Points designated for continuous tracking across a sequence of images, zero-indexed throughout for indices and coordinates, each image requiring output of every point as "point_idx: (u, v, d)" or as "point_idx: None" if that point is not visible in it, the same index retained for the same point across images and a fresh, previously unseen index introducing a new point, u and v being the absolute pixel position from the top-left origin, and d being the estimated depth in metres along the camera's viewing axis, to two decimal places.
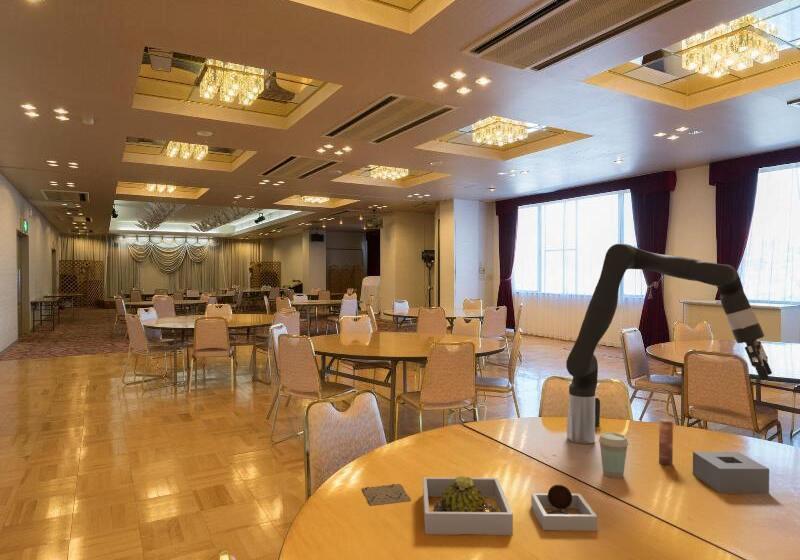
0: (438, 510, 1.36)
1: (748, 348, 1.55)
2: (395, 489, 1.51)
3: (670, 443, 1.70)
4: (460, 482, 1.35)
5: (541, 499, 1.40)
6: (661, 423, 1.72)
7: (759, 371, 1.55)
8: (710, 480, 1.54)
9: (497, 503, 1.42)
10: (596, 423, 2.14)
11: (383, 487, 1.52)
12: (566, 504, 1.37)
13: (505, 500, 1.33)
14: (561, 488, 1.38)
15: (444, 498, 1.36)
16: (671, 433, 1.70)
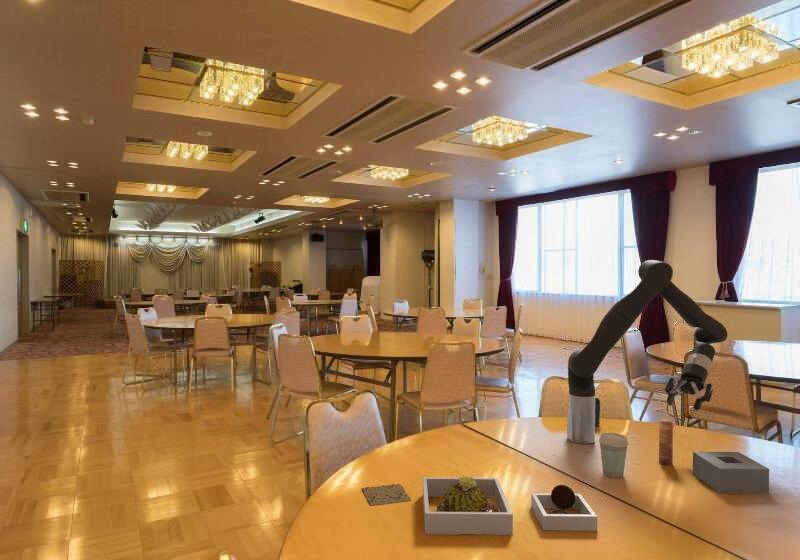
0: (441, 511, 1.36)
1: (711, 386, 1.78)
2: (395, 489, 1.51)
3: (670, 443, 1.70)
4: (463, 482, 1.35)
5: (541, 499, 1.40)
6: (661, 423, 1.72)
7: (700, 402, 1.76)
8: (710, 480, 1.54)
9: (497, 503, 1.42)
10: (596, 423, 2.14)
11: (383, 487, 1.52)
12: (569, 504, 1.37)
13: (505, 500, 1.33)
14: (564, 488, 1.38)
15: (447, 499, 1.35)
16: (671, 433, 1.70)
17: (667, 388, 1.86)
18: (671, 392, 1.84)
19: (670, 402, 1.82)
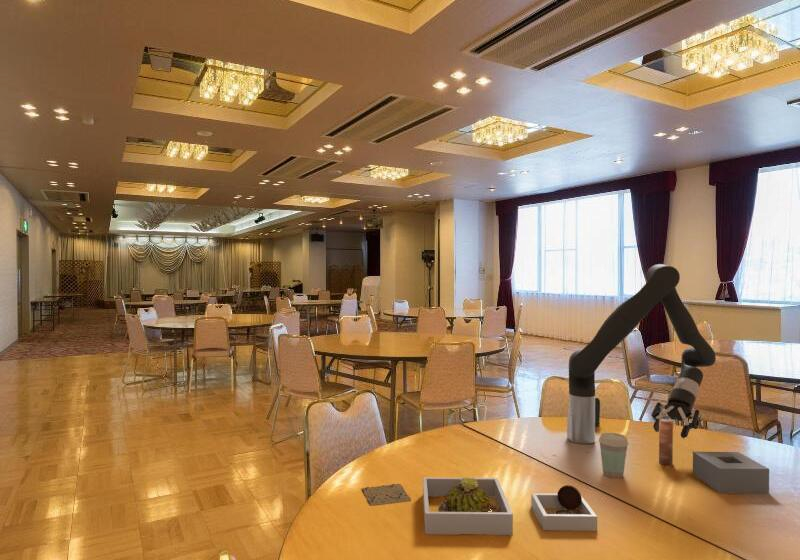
0: None
1: (699, 413, 1.72)
2: (395, 489, 1.51)
3: (670, 443, 1.70)
4: (465, 483, 1.35)
5: (541, 499, 1.40)
6: (661, 423, 1.72)
7: (687, 430, 1.70)
8: (710, 480, 1.54)
9: (497, 503, 1.42)
10: (596, 423, 2.14)
11: (383, 487, 1.52)
12: (575, 505, 1.36)
13: (505, 500, 1.33)
14: (571, 489, 1.37)
15: (449, 499, 1.35)
16: (671, 433, 1.70)
17: (654, 413, 1.80)
18: (658, 418, 1.78)
19: (657, 428, 1.77)
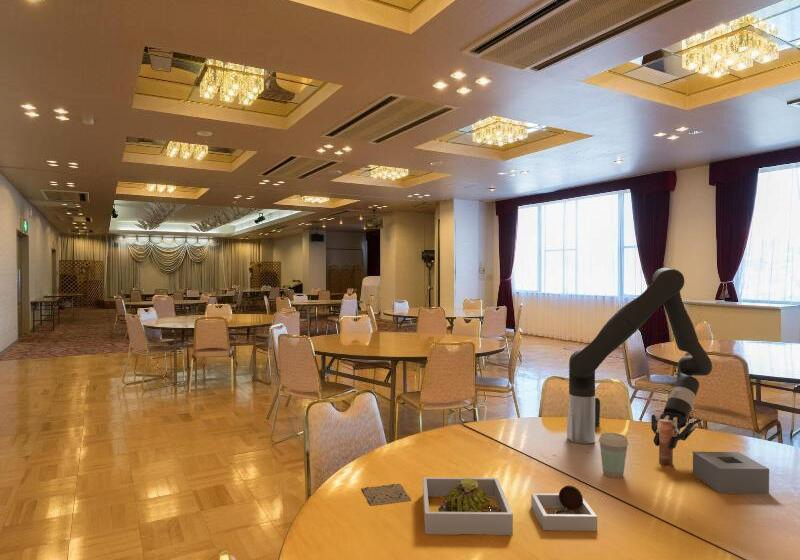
0: None
1: (692, 427, 1.70)
2: (395, 489, 1.51)
3: None
4: (465, 484, 1.34)
5: (541, 499, 1.40)
6: (661, 423, 1.71)
7: (675, 441, 1.69)
8: (710, 480, 1.54)
9: (497, 503, 1.42)
10: (596, 423, 2.14)
11: (383, 487, 1.52)
12: (577, 506, 1.36)
13: (505, 500, 1.33)
14: (573, 489, 1.37)
15: (449, 500, 1.34)
16: (671, 433, 1.70)
17: (654, 427, 1.76)
18: (658, 431, 1.74)
19: (657, 442, 1.73)
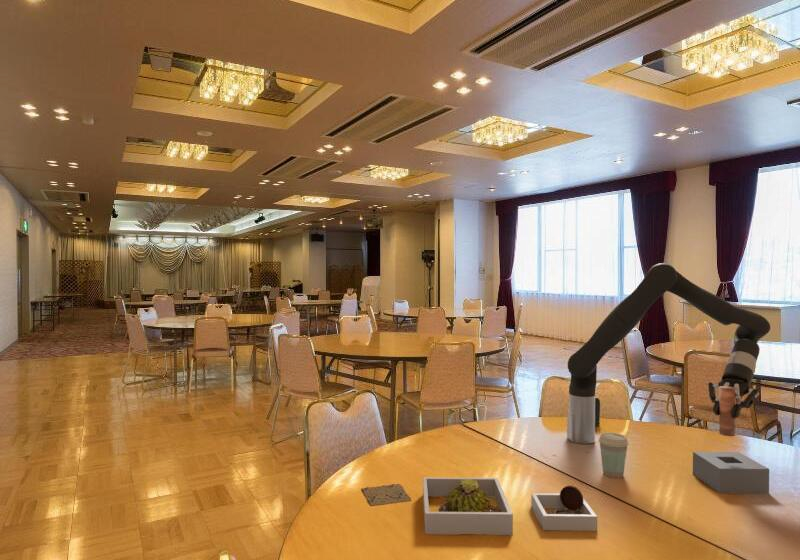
0: None
1: (757, 393, 1.54)
2: (395, 489, 1.51)
3: None
4: (466, 484, 1.34)
5: (541, 499, 1.40)
6: (722, 390, 1.56)
7: (739, 409, 1.54)
8: (710, 480, 1.54)
9: (497, 503, 1.42)
10: (596, 423, 2.14)
11: (383, 487, 1.52)
12: (577, 506, 1.36)
13: (505, 500, 1.33)
14: (573, 490, 1.37)
15: (450, 501, 1.34)
16: (733, 401, 1.55)
17: (712, 395, 1.61)
18: (718, 399, 1.59)
19: (717, 411, 1.57)
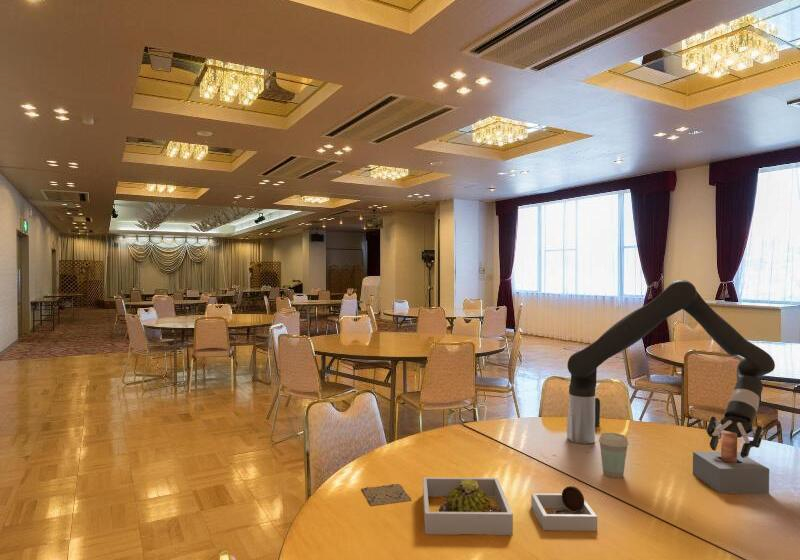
0: None
1: (762, 430, 1.54)
2: (395, 489, 1.51)
3: (734, 457, 1.54)
4: (466, 485, 1.34)
5: (541, 499, 1.40)
6: (724, 435, 1.56)
7: (748, 448, 1.52)
8: (710, 480, 1.54)
9: (497, 503, 1.42)
10: (596, 423, 2.14)
11: (383, 487, 1.52)
12: (578, 507, 1.35)
13: (505, 500, 1.33)
14: (575, 490, 1.36)
15: (450, 501, 1.34)
16: (735, 446, 1.54)
17: (709, 429, 1.62)
18: (715, 435, 1.60)
19: (714, 446, 1.58)
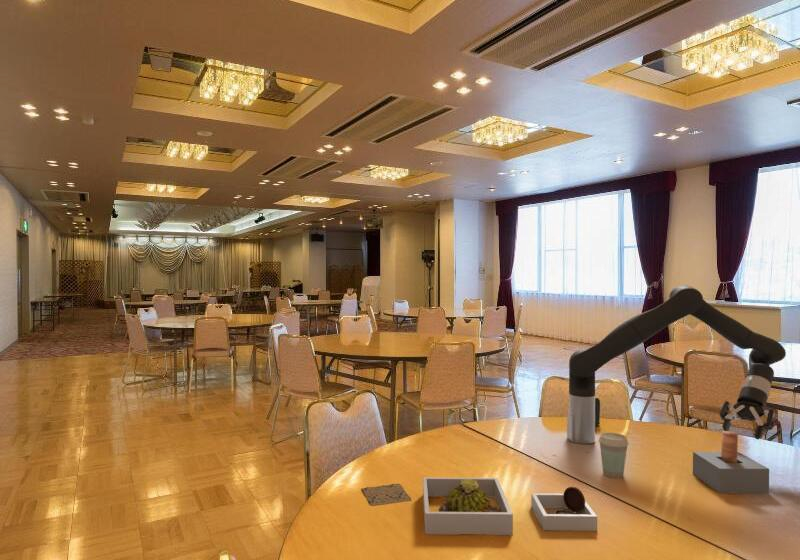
0: None
1: (774, 413, 1.63)
2: (394, 489, 1.51)
3: (735, 458, 1.54)
4: (466, 484, 1.34)
5: (541, 499, 1.40)
6: (724, 436, 1.55)
7: (762, 430, 1.61)
8: (710, 480, 1.54)
9: (497, 503, 1.42)
10: (596, 423, 2.14)
11: (383, 487, 1.52)
12: (579, 508, 1.35)
13: (505, 500, 1.33)
14: (576, 491, 1.36)
15: (450, 501, 1.34)
16: (736, 447, 1.54)
17: (722, 413, 1.71)
18: (727, 417, 1.69)
19: (727, 429, 1.67)
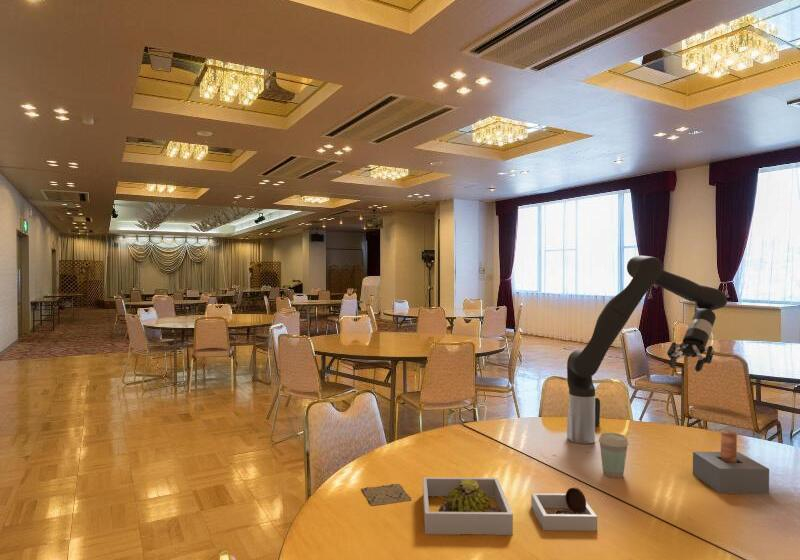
0: None
1: (712, 349, 1.84)
2: (394, 489, 1.51)
3: (734, 457, 1.54)
4: (466, 485, 1.34)
5: (541, 499, 1.40)
6: (724, 435, 1.55)
7: (701, 364, 1.83)
8: (710, 480, 1.54)
9: (497, 503, 1.42)
10: (596, 423, 2.14)
11: (382, 487, 1.52)
12: (580, 509, 1.34)
13: (505, 500, 1.33)
14: (578, 492, 1.35)
15: (450, 501, 1.34)
16: (735, 447, 1.54)
17: (669, 352, 1.93)
18: (673, 355, 1.91)
19: (672, 364, 1.89)
